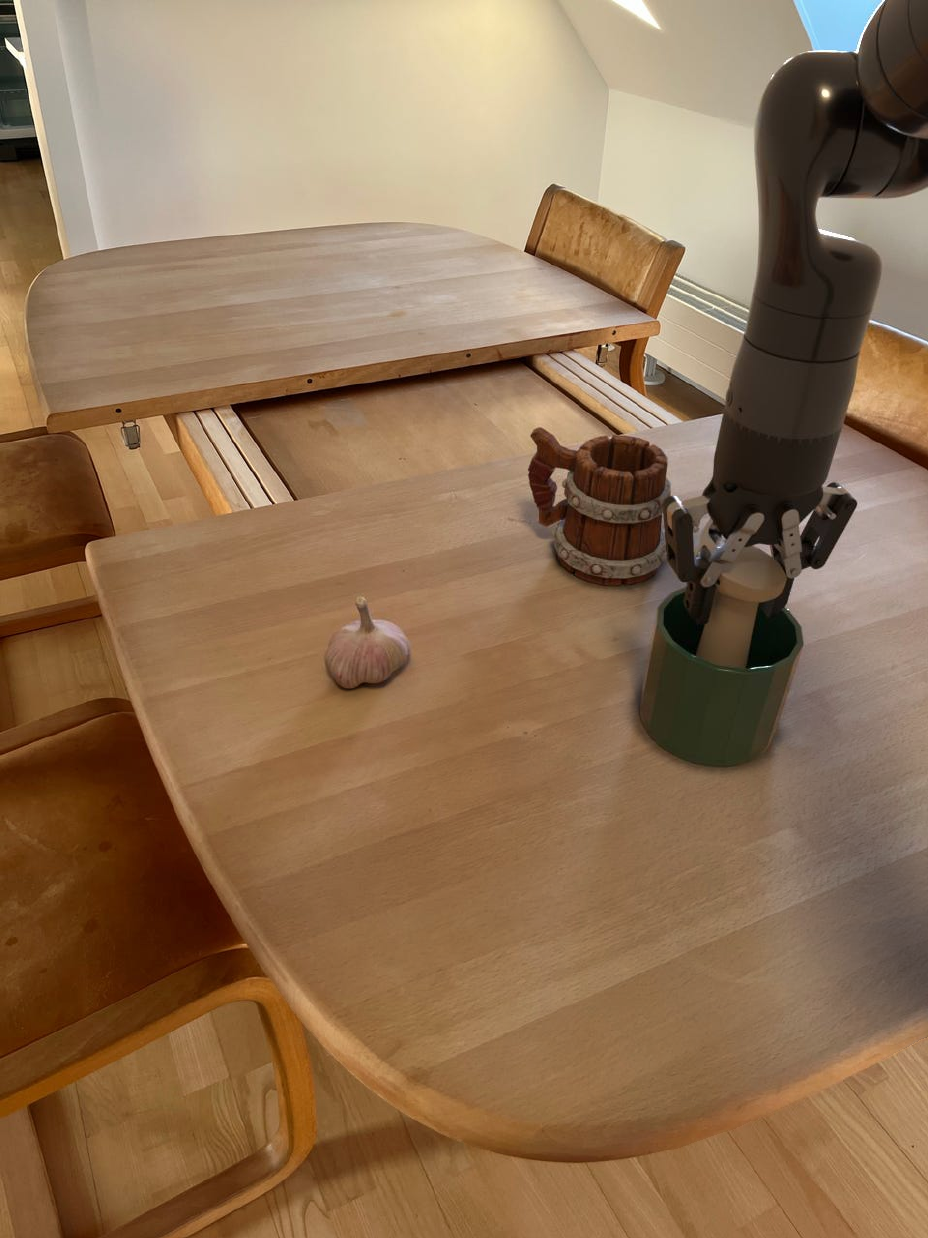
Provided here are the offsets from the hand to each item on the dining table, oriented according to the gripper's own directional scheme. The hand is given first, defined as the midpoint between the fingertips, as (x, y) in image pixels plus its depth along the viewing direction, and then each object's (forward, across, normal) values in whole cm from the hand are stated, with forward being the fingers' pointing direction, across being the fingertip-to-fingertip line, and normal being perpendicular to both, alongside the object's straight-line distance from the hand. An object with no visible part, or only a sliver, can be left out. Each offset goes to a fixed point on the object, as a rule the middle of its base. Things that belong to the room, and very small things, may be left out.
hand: (732, 613), depth 71 cm
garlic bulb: (+11, -27, +11) cm, 31 cm away
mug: (+11, -2, +25) cm, 28 cm away
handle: (+11, 0, 0) cm, 11 cm away
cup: (+11, 0, 0) cm, 11 cm away
